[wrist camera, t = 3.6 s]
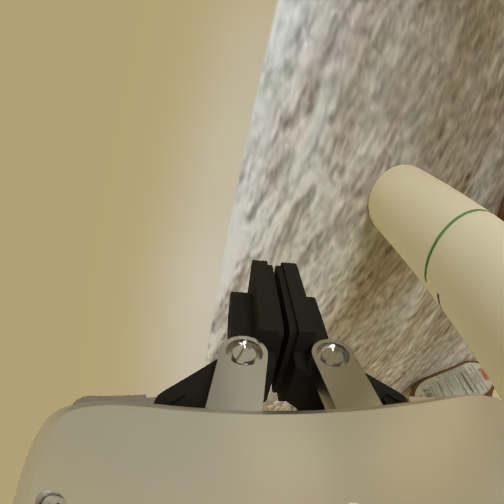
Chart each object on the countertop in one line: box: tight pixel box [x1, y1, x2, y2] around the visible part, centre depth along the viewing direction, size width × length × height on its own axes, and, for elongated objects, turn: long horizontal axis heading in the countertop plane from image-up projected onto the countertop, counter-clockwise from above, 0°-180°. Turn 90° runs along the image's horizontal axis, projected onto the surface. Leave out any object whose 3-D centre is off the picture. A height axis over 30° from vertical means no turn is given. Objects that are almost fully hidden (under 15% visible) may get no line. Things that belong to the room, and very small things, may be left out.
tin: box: [410, 361, 494, 398], centre depth 37 cm, size 15×3×8 cm, turn 104°
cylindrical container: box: [368, 165, 504, 402], centre depth 17 cm, size 7×7×25 cm
